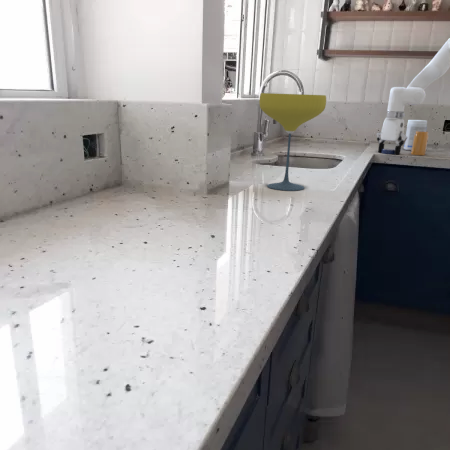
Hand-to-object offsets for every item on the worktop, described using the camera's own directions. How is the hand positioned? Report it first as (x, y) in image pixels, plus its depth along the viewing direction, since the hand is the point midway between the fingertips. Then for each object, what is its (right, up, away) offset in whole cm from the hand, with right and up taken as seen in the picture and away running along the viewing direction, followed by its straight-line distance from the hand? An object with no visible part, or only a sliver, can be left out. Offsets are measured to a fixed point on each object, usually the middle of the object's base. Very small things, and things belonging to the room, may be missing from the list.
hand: (388, 153), depth 234 cm
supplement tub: (+19, +7, +19) cm, 28 cm away
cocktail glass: (-62, -38, -93) cm, 118 cm away
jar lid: (0, +1, 0) cm, 2 cm away
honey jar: (+14, -1, 0) cm, 14 cm away
